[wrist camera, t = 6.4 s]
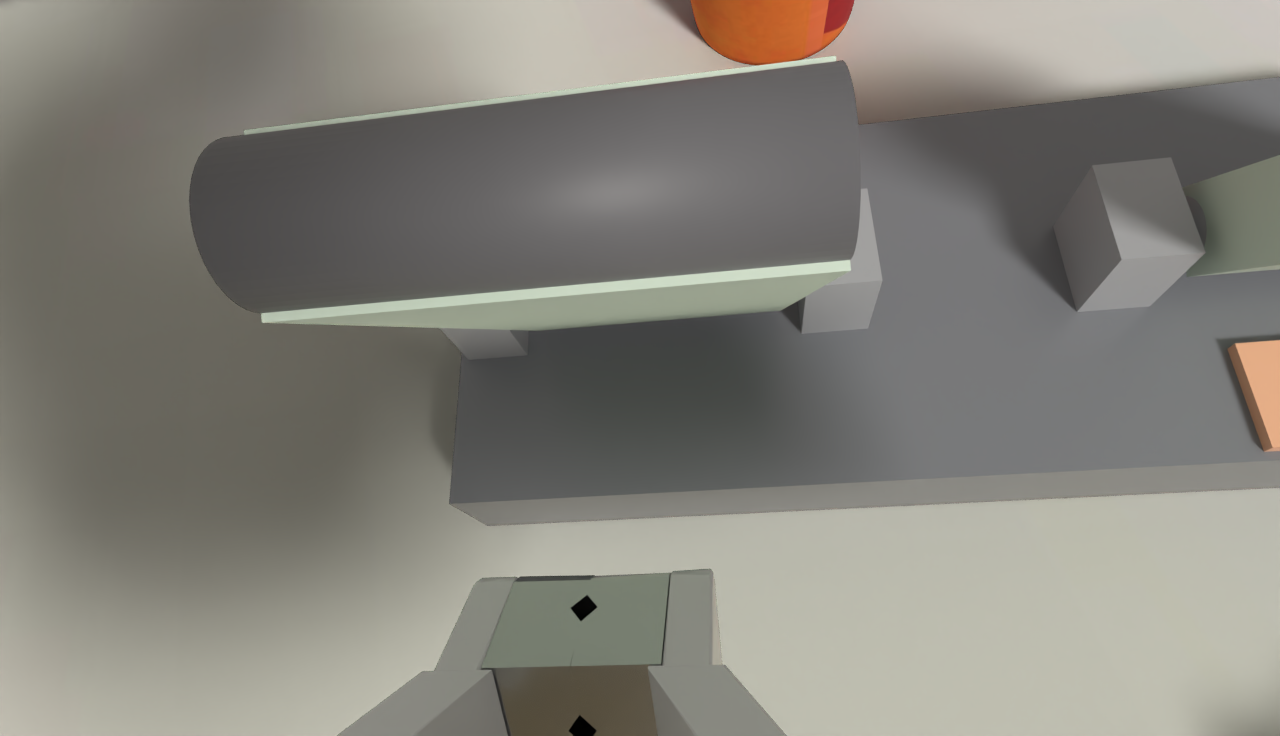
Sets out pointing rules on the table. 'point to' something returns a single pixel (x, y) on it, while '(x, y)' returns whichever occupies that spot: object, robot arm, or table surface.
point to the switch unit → (926, 341)
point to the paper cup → (770, 27)
